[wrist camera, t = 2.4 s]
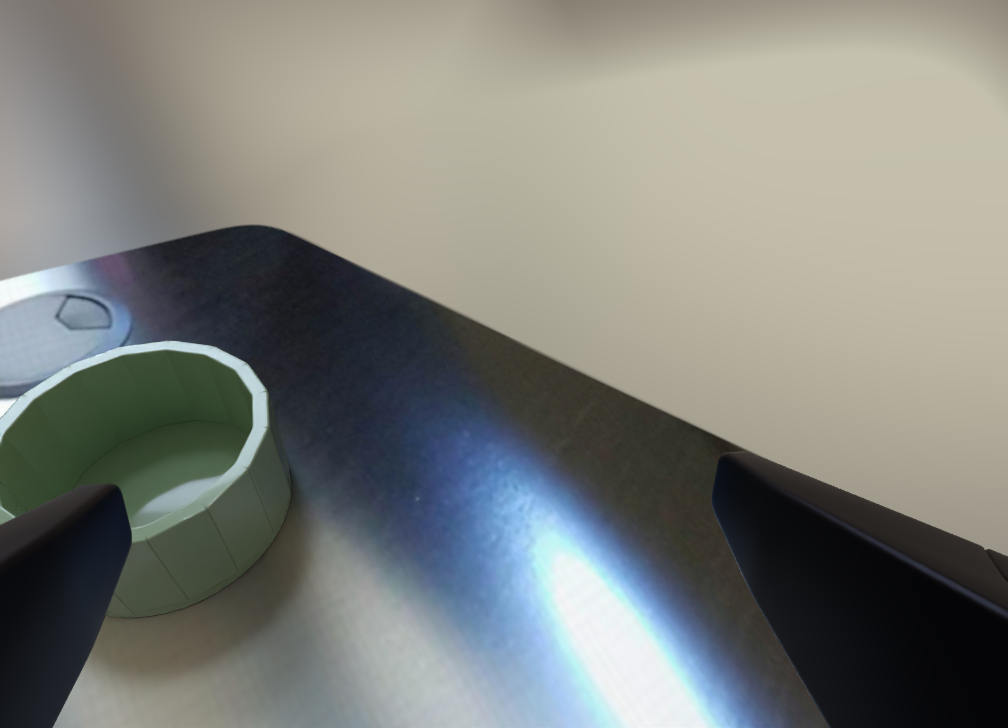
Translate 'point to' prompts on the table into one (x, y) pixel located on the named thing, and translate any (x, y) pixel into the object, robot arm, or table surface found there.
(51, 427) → the pale green bowl
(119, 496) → the robot arm
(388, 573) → the table surface
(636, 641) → the table surface
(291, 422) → the table surface
